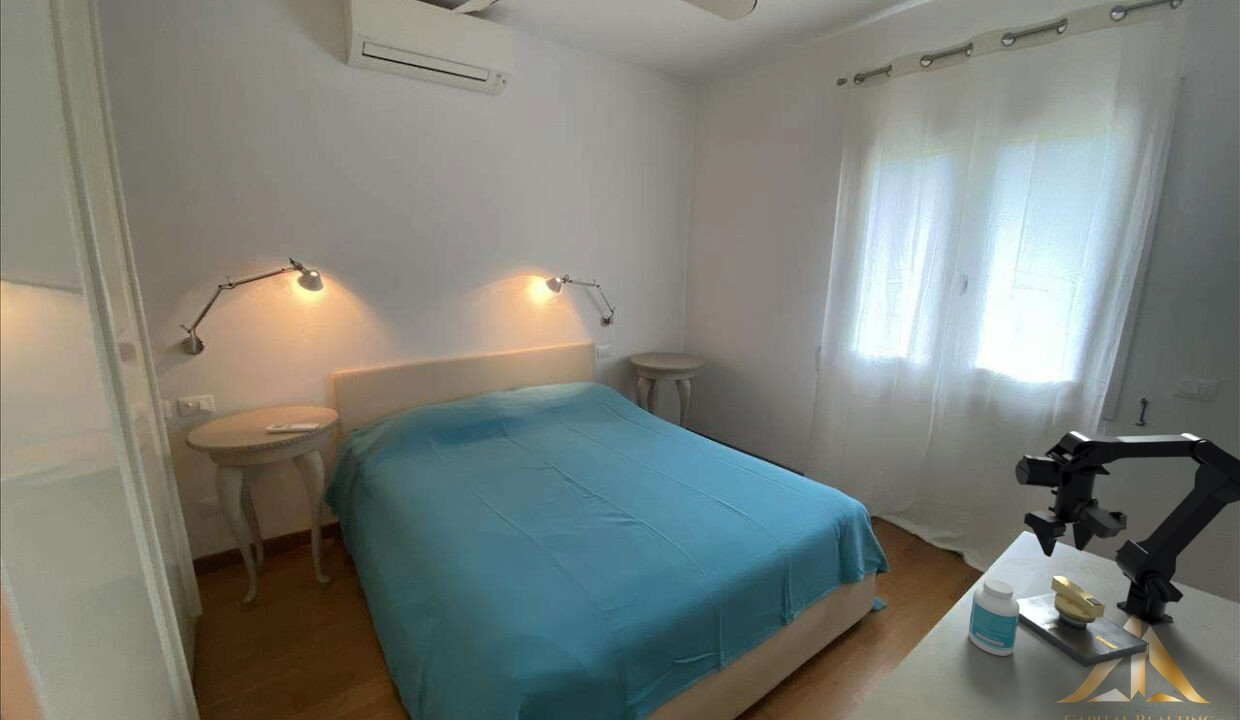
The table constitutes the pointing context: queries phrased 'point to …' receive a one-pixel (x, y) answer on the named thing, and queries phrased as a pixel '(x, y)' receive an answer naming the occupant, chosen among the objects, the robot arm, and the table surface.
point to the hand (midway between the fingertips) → (1063, 552)
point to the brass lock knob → (1075, 601)
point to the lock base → (1078, 633)
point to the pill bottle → (994, 617)
